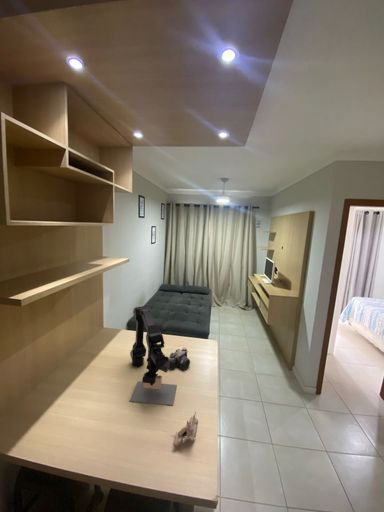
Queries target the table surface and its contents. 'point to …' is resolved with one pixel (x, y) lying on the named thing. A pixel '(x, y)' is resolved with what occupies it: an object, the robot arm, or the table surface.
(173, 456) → the table surface
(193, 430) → the bone fragment
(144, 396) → the mat
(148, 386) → the block
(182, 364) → the camera
